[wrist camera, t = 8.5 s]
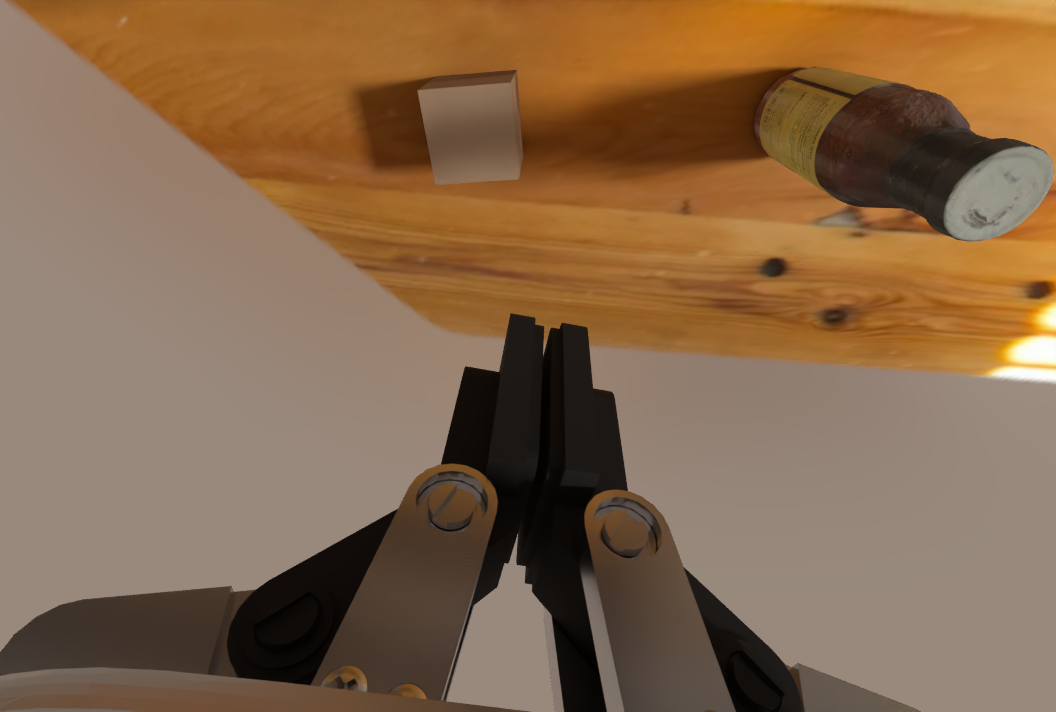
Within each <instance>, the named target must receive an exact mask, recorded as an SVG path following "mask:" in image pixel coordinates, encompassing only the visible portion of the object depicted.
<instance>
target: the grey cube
mask: <svg viewBox="0 0 1056 712" xmlns="http://www.w3.org/2000/svg"><path fill="white" fill-rule="evenodd" d="M417 91H418V96H419V102H420V107H421V112H422V118H423V123H424V128H425V133H426V139H427V144H428V149H429V154H430V160H431V165H432V170H433V176H434V181H435V185H438V184H454V183H470V182H485V181H501V180H517V179H519V176H520V171H521V166H522V161H523V145H522V133H521V120H520V107H519V94H518V82H517V70H511V71H499V72H487V73H475V74H463V75H451V76H439V77H435V78H433V79H432V80H431V81H429V82H428V83H426V84H425V85H424V86H422V87H421V88H420V89H418V90H417Z"/></svg>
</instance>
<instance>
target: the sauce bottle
mask: <svg viewBox="0 0 1056 712" xmlns="http://www.w3.org/2000/svg"><path fill="white" fill-rule="evenodd" d="M754 125H755V135H756V138H757V141H758V143H759V145H760V146H761V147H762V148H763V149H764V150H765V151H766V153H767V154H768V155H769V156H770V157H771V158H773V159H774V160H776V161H778V162H779V163H781V164H782V165H784V166H785V167H787V168H788V169H790V170H792V171H793V172H795V173H796V174H798V175H799V176H801V177H803V178H804V179H806V180H807V181H809V182H810V183H812V184H814V185H815V186H817V187H818V188H820V189H821V190H823V191H825V192H826V193H828V194H830V195H831V196H833V197H834V198H836V199H838V200H840V201H842V202H844V203H847V204H849V205H853V206H858V207H874V208H904V209H907V210H911V211H913V212H914V213H916V214H919V215H920V216H922V217H923V218H925V219H926V220H927V222H928V223H929V225H930V226H931V227H932V228H933V229H935V230H937V231H938V232H940V233H942V234H945V235H947V236H950V237H952V238H955V239H957V240H963V241H981V240H987V239H990V238H993V237H997V236H1000V235H1002V234H1004V233H1006V232H1008V231H1010V230H1012V229H1013V228H1015V227H1016V226H1018V225H1019V224H1021V223H1022V222H1023V221H1024V220H1025V219H1026V218H1027V217H1028V216H1029V215H1030V214H1031V213H1032V212H1033V211H1034V210H1035V209H1036V208H1037V207H1038V206H1039V204H1040V203H1041V201H1042V200H1043V198H1044V197H1045V195H1046V194H1047V192H1048V190H1049V188H1050V186H1051V184H1052V181H1053V174H1054V168H1053V162H1052V160H1051V158H1050V157H1049V155H1048V154H1047V153H1046V152H1045V151H1044V150H1042V149H1040V148H1038V147H1036V146H1033V145H1030V144H1028V143H1025V142H1022V141H1018V140H1015V139H1008V138H998V139H989V138H986V137H982V136H979V135H976V134H975V133H974V132H972V131H971V130H970V125H969V123H968V122H967V120H966V119H965V118H964V117H963V115H962V114H961V113H960V112H959V111H958V110H957V108H956V107H955V106H954V105H953V103H952V102H951V101H950V100H948V99H947V98H945V97H943V96H941V95H938V94H936V93H932V92H929V91H925V90H918V89H915V88H913V87H911V86H908V85H906V84H901V83H897V82H891V81H886V80H881V79H877V78H872V77H867V76H862V75H857V74H853V73H849V72H844V71H839V70H833V69H829V68H821V67H818V68H817V67H812V68H808V69H801V70H798V71H795V72H792V73H790V74H788V75H785V76H784V77H782V78H780V79H778V80H777V81H776V82H775V83H774V84H773V85H772V86H771V87H770V88H769V89H768V91H767V92H766V93H765V95H764V97H763V99H762V100H761V102H760V104H759V106H758V108H757V110H756V114H755V120H754Z"/></svg>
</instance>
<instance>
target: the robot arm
mask: <svg viewBox="0 0 1056 712" xmlns="http://www.w3.org/2000/svg"><path fill="white" fill-rule="evenodd" d="M543 341H544V326H540V325H535V318H533V317H528V316H522V315H517V314H510V319H509V324H508V329H507V334H506V339H505V345H504V350H503V355H502V361H501V366H500V371H499V372H495V371H489V370H484V369H478V368H472V367H465V369H464V373H463V376H462V380H461V385H460V389H459V393H458V397H457V401H456V405H455V410H454V413H453V417H452V421H451V426H450V430H449V434H448V438H447V442H446V446H445V450H444V454H443V458H442V462H441V465H437V466H435V467H432V468H429V469H427V470H425V471H424V472H423V473H421V474H420V475H418V476H417V477H416V478H415V479H414V481H413V482H412V484H411V485H410V486H409V488H408V490H407V492H406V494H405V496H404V498H403V500H402V502H401V504H400V506H399V508H398V509H397V510H395V511H393V512H391V513H389V514H388V515H386V516H384V517H382V518H381V519H379V520H377V521H375V522H373V523H371V524H370V525H368V526H366V527H364V528H362V529H361V530H359V531H357V532H356V533H353V534H352V535H350V536H348V537H346V538H344V539H343V540H341V541H339V542H337V543H335V544H334V545H332V546H330V547H328V548H327V549H325V550H323V551H321V552H319V553H317V554H316V555H314V556H312V557H310V558H309V559H307V560H305V561H303V562H301V563H299V564H298V565H296V566H294V567H292V568H291V569H289V570H287V571H285V572H283V573H282V574H280V575H278V576H276V577H274V578H272V579H271V580H269V581H268V582H266V583H265V584H263V585H262V586H261V587H259V588H258V589H256V590H248V591H237V592H234V591H233V588H232V586H226V587H216V588H204V589H193V590H183V591H172V592H160V593H149V594H138V595H126V596H116V597H104V598H93V599H83V600H79V601H75V602H70V603H66V604H62V605H59V606H57V607H55V608H53V609H51V610H49V611H47V612H45V613H43V614H41V615H39V616H37V617H36V618H34V619H33V620H32V621H31V622H29V623H28V624H27V625H26V626H24V627H23V628H22V629H21V630H19V631H18V632H17V633H15V634H14V635H13V637H12V638H11V639H10V641H9V642H8V643H7V644H6V645H5V647H4V648H3V649H2V651H1V652H0V712H528V711H520V710H511V709H503V708H496V707H487V706H479V705H471V704H462V703H454V702H447V698H448V695H449V691H450V687H451V684H452V681H453V677H454V674H455V670H456V666H457V663H458V659H459V656H460V653H461V649H462V646H463V642H464V639H465V636H466V632H467V628H468V625H469V621H470V618H471V614H472V611H473V607H474V605H475V604H476V603H477V602H478V601H480V600H481V599H482V598H484V597H485V596H486V595H488V594H489V593H490V592H491V591H493V590H494V589H495V588H497V586H498V583H499V579H500V576H501V572H502V569H503V565H504V563H509V560H510V557H511V554H512V550H513V547H514V544H515V541H516V537H517V534H518V544H517V560H516V561H517V565H522V566H526V572H525V583H527V584H532V592H533V593H534V595H535V596H536V597H537V598H538V600H539V601H540V602H541V603H542V604H543V606H544V626H545V635H546V643H547V651H548V659H549V668H550V677H551V685H552V693H553V702H554V710H555V712H921V711H919V710H917V709H915V708H913V707H910V706H908V705H905V704H902V703H900V702H897V701H895V700H892V699H890V698H887V697H884V696H882V695H879V694H877V693H874V692H871V691H869V690H866V689H864V688H861V687H859V686H856V685H853V684H851V683H848V682H846V681H843V680H841V679H838V678H835V677H833V676H830V675H827V674H825V673H822V672H820V671H817V670H815V669H812V668H809V667H807V666H804V665H802V664H799V663H797V664H796V665H794V666H793V667H790V666H788V665H785V664H784V663H783V662H782V661H781V659H780V658H779V657H778V656H777V655H776V654H775V653H774V651H773V650H772V649H771V648H770V647H769V646H768V645H766V644H765V643H764V642H763V641H762V640H761V639H760V638H759V637H758V636H757V635H756V634H755V633H754V632H753V631H752V630H750V629H749V628H748V627H747V626H746V625H745V624H744V623H743V622H742V621H741V620H740V619H739V618H738V617H737V616H735V615H734V614H733V613H732V612H731V611H730V610H729V609H728V608H727V607H726V606H725V605H724V604H723V603H722V602H720V601H719V600H718V599H717V598H716V597H715V596H714V595H713V594H712V593H711V592H710V591H709V590H708V589H707V588H705V586H703V585H702V584H701V583H700V582H699V581H698V580H697V579H696V578H695V577H694V576H693V575H691V574H690V573H689V572H688V571H687V570H686V569H685V568H684V567H683V565H682V562H681V559H680V556H679V553H678V551H677V548H676V545H675V542H674V540H673V537H672V534H671V532H670V529H669V526H668V524H667V523H666V521H665V519H664V517H663V515H662V514H661V513H660V512H659V511H658V510H657V508H656V507H655V506H654V505H653V504H651V503H650V502H649V501H647V500H646V499H644V498H643V497H641V496H639V495H637V494H634V493H632V492H629V491H628V489H627V482H626V475H625V468H624V461H623V453H622V447H621V439H620V433H619V425H618V418H617V411H616V404H615V398H614V394H613V393H612V392H610V391H605V390H599V389H593V384H592V374H591V363H590V350H589V339H588V330H587V327H582V326H577V325H571V324H566V323H562V324H561V326H560V329H556V328H551V329H550V332H549V336H548V340H547V344H546V348H545V352H544V356H543Z"/></svg>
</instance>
